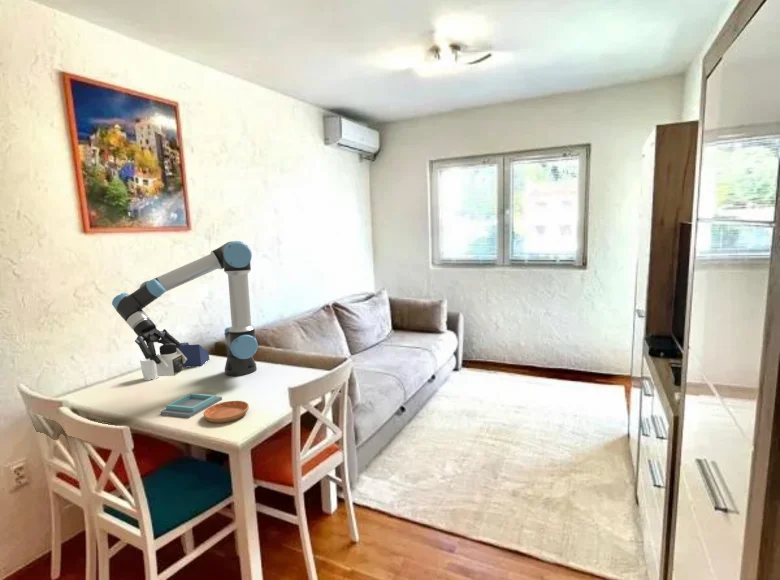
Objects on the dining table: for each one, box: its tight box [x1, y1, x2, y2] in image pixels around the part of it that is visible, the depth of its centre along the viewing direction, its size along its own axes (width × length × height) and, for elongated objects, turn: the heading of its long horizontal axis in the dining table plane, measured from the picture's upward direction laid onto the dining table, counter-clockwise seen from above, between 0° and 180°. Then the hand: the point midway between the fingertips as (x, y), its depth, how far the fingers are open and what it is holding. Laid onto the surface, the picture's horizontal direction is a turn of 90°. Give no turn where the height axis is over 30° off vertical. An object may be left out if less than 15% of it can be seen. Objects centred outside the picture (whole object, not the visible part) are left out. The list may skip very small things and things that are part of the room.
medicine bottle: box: [156, 344, 184, 377], centre depth 175 cm, size 7×7×12 cm
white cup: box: [139, 357, 160, 381], centre depth 212 cm, size 8×8×10 cm
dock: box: [159, 392, 223, 418], centre depth 173 cm, size 18×14×3 cm
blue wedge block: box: [179, 342, 210, 368], centre depth 233 cm, size 12×12×12 cm
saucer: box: [202, 400, 249, 424], centre depth 162 cm, size 16×16×3 cm
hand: (176, 364), depth 175 cm, fingers closed on medicine bottle, 9 cm apart
